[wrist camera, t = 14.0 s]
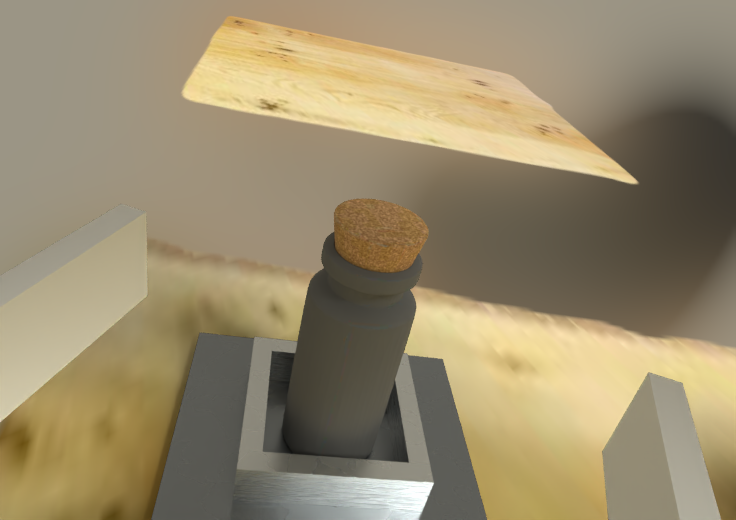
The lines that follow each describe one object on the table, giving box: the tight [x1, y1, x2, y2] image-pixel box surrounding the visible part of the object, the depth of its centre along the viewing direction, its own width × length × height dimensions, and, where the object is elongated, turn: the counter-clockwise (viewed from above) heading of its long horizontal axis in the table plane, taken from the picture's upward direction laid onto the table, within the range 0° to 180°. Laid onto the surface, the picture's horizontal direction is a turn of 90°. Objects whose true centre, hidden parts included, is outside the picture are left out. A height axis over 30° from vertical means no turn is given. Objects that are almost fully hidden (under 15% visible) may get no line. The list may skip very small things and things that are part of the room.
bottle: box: [282, 199, 428, 459], centre depth 32 cm, size 6×6×15 cm
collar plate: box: [151, 333, 487, 520], centre depth 36 cm, size 18×16×4 cm
